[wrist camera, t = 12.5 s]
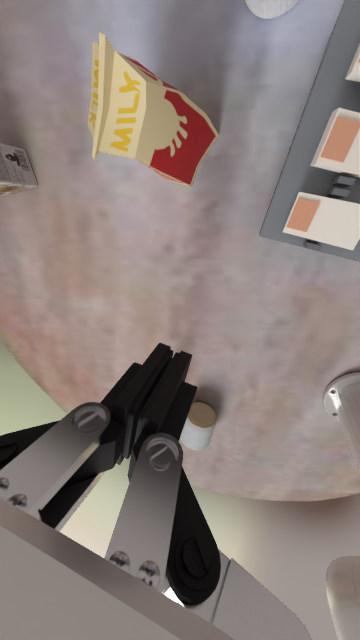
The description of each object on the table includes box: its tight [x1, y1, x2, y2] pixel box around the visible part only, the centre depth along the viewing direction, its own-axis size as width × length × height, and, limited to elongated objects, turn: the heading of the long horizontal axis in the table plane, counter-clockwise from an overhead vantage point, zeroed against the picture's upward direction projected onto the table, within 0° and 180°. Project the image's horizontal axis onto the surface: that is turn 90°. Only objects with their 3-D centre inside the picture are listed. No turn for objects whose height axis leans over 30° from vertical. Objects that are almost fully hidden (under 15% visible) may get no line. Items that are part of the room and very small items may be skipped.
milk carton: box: [87, 32, 219, 187], centre depth 25 cm, size 9×9×20 cm
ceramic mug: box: [180, 402, 216, 450], centre depth 52 cm, size 11×8×8 cm
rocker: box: [283, 192, 360, 250], centre depth 26 cm, size 8×4×1 cm, turn 79°
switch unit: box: [260, 0, 360, 262], centre depth 25 cm, size 13×21×7 cm, turn 168°
